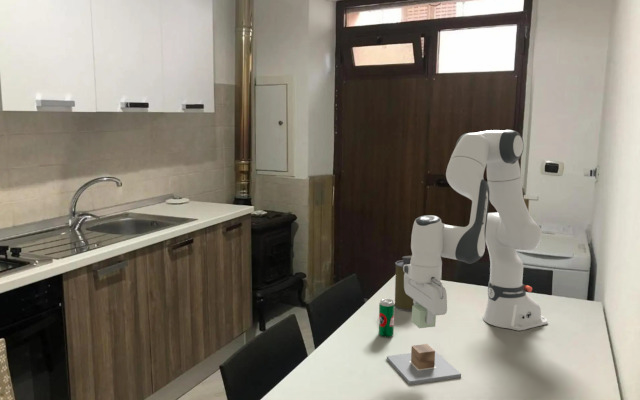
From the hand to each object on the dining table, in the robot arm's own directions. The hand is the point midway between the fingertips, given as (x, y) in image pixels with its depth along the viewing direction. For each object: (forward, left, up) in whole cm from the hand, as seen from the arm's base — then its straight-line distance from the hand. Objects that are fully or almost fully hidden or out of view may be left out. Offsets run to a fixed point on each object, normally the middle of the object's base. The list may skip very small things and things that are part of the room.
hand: (423, 318), depth 150 cm
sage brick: (0, 0, -2) cm, 2 cm away
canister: (-18, -48, -15) cm, 54 cm away
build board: (0, 0, -15) cm, 15 cm away
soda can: (+1, -25, -15) cm, 29 cm away
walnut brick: (0, 0, -14) cm, 14 cm away
